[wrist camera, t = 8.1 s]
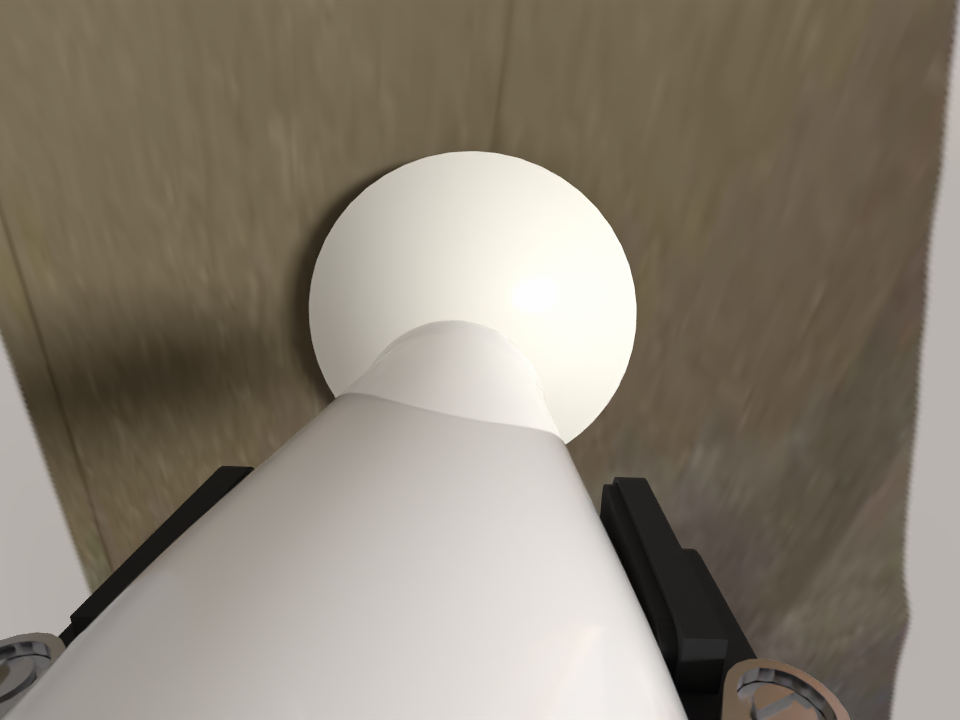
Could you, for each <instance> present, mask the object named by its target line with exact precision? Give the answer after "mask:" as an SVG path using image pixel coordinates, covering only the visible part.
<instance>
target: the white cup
mask: <svg viewBox="0 0 960 720" xmlns="http://www.w3.org/2000/svg"><path fill="white" fill-rule="evenodd" d="M0 720H688V717H687V714H686V712H685V709H684V707H683V704H682V702H681V699H680V697H679V694H678V692H677V689H676V687H675V684H674V682H673V679H672V677H671V674H670V672H669V669H668V667H667V665H666V662H665V660H664V658H663V655H662V653H661V651H660V648H659V646H658V644H657V641H656V639H655V636H654V634H653V632H652V629H651V627H650V625H649V623H648V621H647V618H646V616H645V614H644V612H643V610H642V607H641V605H640V603H639V601H638V599H637V596H636V594H635V592H634V590H633V588H632V585H631V583H630V581H629V579H628V577H627V575H626V572H625V570H624V568H623V566H622V564H621V561H620V559H619V557H618V555H617V553H616V551H615V549H614V547H613V545H612V542H611V540H610V538H609V536H608V534H607V532H606V530H605V528H604V526H603V523H602V521H601V519H600V517H599V515H598V513H597V511H596V509H595V507H594V504H593V502H592V500H591V498H590V496H589V494H588V492H587V490H586V488H585V485H584V483H583V481H582V479H581V477H580V475H579V473H578V471H577V469H576V466H575V464H574V462H573V460H572V458H571V456H570V454H569V451H568V449H567V447H566V445H565V443H564V441H563V439H562V436H561V434H560V432H559V430H558V428H557V425H556V423H555V421H554V419H553V417H552V414H551V412H550V410H549V407H548V405H547V403H546V399H545V394H544V390H543V386H542V383H541V380H540V378H539V376H538V373H537V371H536V369H535V368H534V366H533V364H532V362H531V361H530V360H529V358H528V357H527V356H526V354H525V353H524V352H523V351H522V350H521V349H520V348H519V347H518V346H517V345H516V344H515V343H514V342H513V341H511V340H510V339H509V338H507V337H506V336H504V335H503V334H501V333H499V332H498V331H496V330H493V329H491V328H489V327H486V326H484V325H481V324H477V323H473V322H468V321H460V320H444V321H436V322H431V323H427V324H424V325H421V326H418V327H416V328H414V329H411V330H409V331H407V332H406V333H404V334H402V335H401V336H399V337H398V338H396V339H395V340H394V341H393V342H391V343H390V344H389V345H388V346H387V347H386V348H385V349H384V350H383V351H382V352H381V354H380V355H379V356H378V357H377V359H376V360H375V361H374V363H373V364H372V366H371V367H370V368H369V369H368V370H366V371H365V372H364V373H363V374H362V375H361V376H360V377H359V378H358V379H357V380H356V381H354V382H353V383H352V384H351V385H350V386H349V387H348V388H347V389H346V390H344V391H343V392H342V393H341V394H340V395H339V396H338V397H337V398H336V399H334V400H333V401H332V402H331V403H330V404H329V405H328V406H326V407H325V408H324V409H323V410H322V411H321V412H320V413H319V414H317V415H316V416H315V417H314V418H313V419H312V420H311V421H309V422H308V423H307V424H306V425H305V426H304V427H302V428H301V429H300V430H299V431H298V432H297V433H296V434H294V435H293V436H292V437H291V438H290V439H289V440H288V441H286V442H285V443H284V444H283V445H282V446H281V447H280V448H278V449H277V450H276V451H275V452H274V453H273V454H271V455H270V456H269V457H268V458H267V459H266V460H265V461H263V462H262V463H261V464H260V465H259V466H258V467H257V468H255V469H254V470H253V471H252V472H251V473H250V474H249V475H247V476H246V477H245V478H244V479H243V480H242V481H241V482H239V483H238V484H237V485H236V486H235V487H234V488H233V489H231V490H230V491H229V492H228V493H227V494H226V495H225V496H224V497H222V498H221V499H220V500H219V501H218V502H217V503H216V504H215V505H214V506H212V507H211V508H210V509H209V510H208V511H207V512H206V513H205V514H204V515H202V516H201V517H200V518H199V519H198V520H197V521H196V522H195V523H193V524H192V525H191V526H190V527H189V528H188V529H187V530H186V531H185V532H183V533H182V534H181V535H180V536H179V537H178V538H177V539H176V540H175V541H174V542H173V543H172V544H171V545H169V546H168V547H167V548H166V549H165V550H164V551H163V552H162V553H161V554H160V555H159V556H158V557H157V558H156V559H155V560H154V561H152V562H151V563H150V564H149V565H148V566H147V567H146V568H145V569H144V570H143V571H142V572H141V573H140V574H139V575H138V576H137V577H136V578H135V579H134V580H133V581H132V582H131V583H130V584H129V585H128V586H127V587H126V588H125V589H124V590H123V591H122V592H121V593H120V594H119V595H118V596H117V597H116V598H115V599H114V600H113V601H112V602H111V603H110V604H109V605H108V606H107V607H106V608H105V609H104V610H103V611H102V612H101V613H100V614H99V615H98V616H97V617H96V618H95V619H94V620H93V621H92V622H91V623H90V624H89V625H88V626H87V627H86V628H85V629H84V630H83V631H82V632H81V633H80V634H79V635H78V636H77V637H76V638H75V639H74V641H73V642H72V643H71V644H70V645H69V646H68V647H67V648H66V649H65V650H64V651H63V652H62V653H61V654H60V655H59V656H58V657H57V658H56V659H55V660H54V661H53V662H52V663H51V664H50V665H49V666H48V668H47V669H46V670H45V671H44V672H43V673H42V674H41V675H40V676H39V677H38V678H37V679H36V680H35V681H34V683H33V684H32V685H31V686H30V687H29V688H28V689H27V690H26V691H25V692H24V693H23V694H22V695H21V696H20V698H19V699H18V700H17V701H16V702H15V703H14V704H13V705H12V706H11V707H10V708H9V709H8V710H7V711H6V712H5V714H4V715H3V716H2V717H1V718H0Z"/></svg>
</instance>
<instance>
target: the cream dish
mask: <svg viewBox="0 0 960 720" xmlns="http://www.w3.org/2000/svg"><path fill="white" fill-rule="evenodd" d="M444 320H460V321H468V322H473V323H477V324H481V325H484V326H486V327H489V328H491V329H493V330H496V331H498V332H499V333H501V334H503V335H504V336H506V337H507V338H509V339H510V340H511V341H513V342H514V343H515V344H516V345H517V346H518V347H519V348H520V349H521V350H522V351H523V352H524V353H525V354H526V356H527V357H528V358H529V360H530V361H531V362H532V364H533V366H534V368H535V369H536V371H537V373H538V376H539V378H540V380H541V383H542V386H543V390H544V394H545V399H546V403H547V405H548V407H549V410H550V412H551V414H552V417H553V419H554V421H555V423H556V425H557V428H558V430H559V432H560V434H561V436H562V439H563V441H564V443H565V444H567V443H568V442H569V441H571V440H572V439H574V438H575V437H576V436H578V435H579V434H580V433H581V432H582V431H583V430H584V429H585V428H587V427H588V426H589V425H590V424H591V423H592V422H593V421H594V420H595V419H596V417H597V416H598V415H599V414H600V413H601V411H602V410H603V409H604V408H605V407H606V405H607V404H608V402H609V401H610V399H611V398H612V396H613V394H614V393H615V391H616V390H617V388H618V386H619V384H620V382H621V379H622V377H623V375H624V373H625V371H626V368H627V365H628V362H629V358H630V355H631V352H632V348H633V342H634V336H635V330H636V299H635V289H634V284H633V279H632V275H631V271H630V267H629V264H628V261H627V259H626V256H625V254H624V251H623V249H622V246H621V244H620V242H619V241H618V239H617V237H616V235H615V234H614V232H613V230H612V228H611V226H610V225H609V224H608V222H607V221H606V220H605V218H604V217H603V216H602V214H601V213H600V212H599V211H598V209H597V208H596V207H595V206H594V205H593V204H592V203H591V202H590V201H589V200H588V199H587V198H586V197H585V196H584V195H583V194H582V193H581V192H580V191H579V190H577V189H576V188H575V187H573V186H572V185H571V184H569V183H568V182H566V181H565V180H564V179H562V178H561V177H559V176H557V175H555V174H554V173H552V172H550V171H548V170H546V169H545V168H543V167H541V166H538V165H536V164H533V163H530V162H528V161H525V160H522V159H520V158H516V157H511V156H507V155H502V154H498V153H488V152H477V151H468V152H450V153H445V154H440V155H435V156H430V157H426V158H423V159H420V160H417V161H414V162H411V163H409V164H406V165H404V166H402V167H400V168H398V169H396V170H394V171H392V172H390V173H388V174H386V175H384V176H383V177H382V178H380V179H379V180H377V181H376V182H375V183H373V184H372V185H370V186H369V187H367V188H366V189H365V190H364V191H363V192H362V193H361V194H360V195H359V196H358V197H357V198H356V199H355V200H353V201H352V202H351V203H350V204H349V206H348V207H347V208H346V209H345V211H344V212H343V213H342V214H341V216H340V217H339V218H338V219H337V221H336V222H335V224H334V226H333V227H332V229H331V231H330V233H329V234H328V236H327V238H326V239H325V241H324V244H323V246H322V249H321V251H320V253H319V256H318V258H317V261H316V265H315V269H314V273H313V276H312V280H311V288H310V297H309V324H310V331H311V338H312V344H313V347H314V351H315V354H316V358H317V361H318V364H319V366H320V369H321V371H322V373H323V376H324V378H325V380H326V382H327V384H328V386H329V387H330V389H331V391H332V393H333V394H334V396H335V398H337V397H338V396H339V395H340V394H341V393H342V392H343V391H344V390H346V389H347V388H348V387H349V386H350V385H351V384H352V383H353V382H354V381H356V380H357V379H358V378H359V377H360V376H361V375H362V374H363V373H364V372H365V371H366V370H368V369H369V368H370V367H371V366H372V364H373V363H374V361H375V360H376V359H377V357H378V356H379V355H380V354H381V352H382V351H383V350H384V349H385V348H386V347H387V346H388V345H389V344H390V343H391V342H393V341H394V340H395V339H396V338H398V337H399V336H401V335H402V334H404V333H406V332H407V331H409V330H411V329H414V328H416V327H418V326H421V325H424V324H427V323H431V322H436V321H444Z"/></svg>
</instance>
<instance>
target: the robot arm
mask: <svg viewBox="0 0 960 720" xmlns="http://www.w3.org/2000/svg"><path fill="white" fill-rule="evenodd" d="M253 470H254V468H253V467H240V466H222V467H220V468H219V469H218V470H217V471H216V472H215V473H214V474H213V475H212V476H211V477H210V478H209V479H208V480H207V481H206V482H205V483H204V484H203V485H202V486H200V487H199V488H198V489H197V490H196V491H195V492H194V493H193V494H192V495H191V496H190V497H189V498H188V499H187V500H186V501H185V502H184V503H183V504H182V505H181V506H180V507H179V508H178V509H177V510H176V511H175V512H174V513H173V514H172V515H171V516H170V517H169V518H168V519H167V520H166V521H165V522H164V523H163V524H162V525H161V526H160V527H159V528H158V529H157V530H156V531H155V532H154V533H153V534H152V535H151V536H150V537H149V538H148V539H147V540H146V541H145V542H144V543H143V544H142V545H141V546H140V547H139V548H138V549H137V550H136V551H135V552H134V553H133V554H132V555H131V556H130V557H129V558H128V559H127V560H126V561H125V562H124V563H123V564H122V565H121V566H120V567H119V568H118V569H117V570H116V571H115V572H114V573H113V574H112V575H111V576H110V577H109V578H108V579H107V580H106V581H105V582H104V583H103V584H102V585H101V586H100V587H99V588H98V589H97V590H96V591H95V592H94V593H93V594H92V595H91V596H90V597H89V598H88V599H87V600H86V601H85V602H84V603H83V604H82V605H81V606H80V607H79V608H78V609H77V610H76V611H75V612H74V613H73V614H72V615H71V616H70V618H71V622H72V623H71V624H70V625H69V626H68V627H67V628H66V629H65V630H64V631H63V632H62V633H61V634H60V635H59V637H56V636H54V635H52V634H48V633H29V634H22V635H17V636H14V637H10V638H7V639H4V640H0V718H1V717H2V716H3V715H4V714H5V712H6V711H7V710H8V709H9V708H10V707H11V706H12V705H13V704H14V703H15V702H16V701H17V700H18V699H19V698H20V696H21V695H22V694H23V693H24V692H25V691H26V690H27V689H28V688H29V687H30V686H31V685H32V684H33V683H34V681H35V680H36V679H37V678H38V677H39V676H40V675H41V674H42V673H43V672H44V671H45V670H46V669H47V668H48V666H49V665H50V664H51V663H52V662H53V661H54V660H55V659H56V658H57V657H58V656H59V655H60V654H61V653H62V652H63V651H64V650H65V649H66V648H67V647H68V646H69V645H70V644H71V643H72V642H73V641H74V639H75V638H76V637H77V636H78V635H79V634H80V633H81V632H82V631H83V630H84V629H85V628H86V627H87V626H88V625H89V624H90V623H91V622H92V621H93V620H94V619H95V618H96V617H97V616H98V615H99V614H100V613H101V612H102V611H103V610H104V609H105V608H106V607H107V606H108V605H109V604H110V603H111V602H112V601H113V600H114V599H115V598H116V597H117V596H118V595H119V594H120V593H121V592H122V591H123V590H124V589H125V588H126V587H127V586H128V585H129V584H130V583H131V582H132V581H133V580H134V579H135V578H136V577H137V576H138V575H139V574H140V573H141V572H142V571H143V570H144V569H145V568H146V567H147V566H148V565H149V564H150V563H151V562H152V561H154V560H155V559H156V558H157V557H158V556H159V555H160V554H161V553H162V552H163V551H164V550H165V549H166V548H167V547H168V546H169V545H171V544H172V543H173V542H174V541H175V540H176V539H177V538H178V537H179V536H180V535H181V534H182V533H183V532H185V531H186V530H187V529H188V528H189V527H190V526H191V525H192V524H193V523H195V522H196V521H197V520H198V519H199V518H200V517H201V516H202V515H204V514H205V513H206V512H207V511H208V510H209V509H210V508H211V507H212V506H214V505H215V504H216V503H217V502H218V501H219V500H220V499H221V498H222V497H224V496H225V495H226V494H227V493H228V492H229V491H230V490H231V489H233V488H234V487H235V486H236V485H237V484H238V483H239V482H241V481H242V480H243V479H244V478H245V477H246V476H247V475H249V474H250V473H251V472H252V471H253ZM600 519H601V521H602V523H603V526H604V528H605V530H606V532H607V534H608V536H609V538H610V540H611V542H612V545H613V547H614V549H615V551H616V553H617V555H618V557H619V559H620V561H621V564H622V566H623V568H624V570H625V572H626V575H627V577H628V579H629V581H630V583H631V585H632V588H633V590H634V592H635V594H636V596H637V599H638V601H639V603H640V605H641V607H642V610H643V612H644V614H645V616H646V618H647V621H648V623H649V625H650V627H651V629H652V632H653V634H654V636H655V639H656V641H657V644H658V646H659V648H660V651H661V653H662V655H663V658H664V660H665V662H666V665H667V667H668V669H669V672H670V674H671V677H672V679H673V682H674V684H675V687H676V689H677V692H678V694H679V697H680V699H681V702H682V704H683V707H684V709H685V712H686V714H687V717H688V720H850V718H849V715H848V713H847V711H846V710H845V709H844V707H843V706H842V704H841V703H840V702H839V700H838V699H837V698H836V696H835V695H833V694H832V693H831V692H830V691H829V690H828V689H827V688H826V687H825V686H824V685H822V684H821V683H820V682H819V681H817V680H816V679H814V678H813V677H811V676H809V675H808V674H806V673H805V672H803V671H801V670H799V669H797V668H794V667H792V666H790V665H787V664H785V663H782V662H777V661H773V660H768V659H757V657H756V655H755V653H754V652H753V650H752V648H751V646H750V644H749V643H748V641H747V639H746V637H745V635H744V634H743V632H742V630H741V628H740V626H739V625H738V623H737V621H736V619H735V617H734V616H733V614H732V612H731V610H730V608H729V607H728V605H727V603H726V601H725V599H724V597H723V596H722V594H721V592H720V590H719V588H718V587H717V585H716V583H715V581H714V579H713V578H712V576H711V574H710V572H709V570H708V569H707V567H706V565H705V563H704V561H703V560H702V558H701V556H700V555H699V553H698V552H697V551H696V550H694V549H682V548H681V546H680V544H679V542H678V540H677V538H676V536H675V535H674V533H673V531H672V529H671V527H670V525H669V523H668V521H667V519H666V517H665V515H664V513H663V511H662V509H661V507H660V505H659V503H658V501H657V499H656V498H655V496H654V494H653V492H652V490H651V488H650V486H649V484H648V482H647V480H646V479H645V478H629V477H615V478H614V480H613V485H611V484H605V485H604V486H603V491H602V502H601V513H600Z"/></svg>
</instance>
